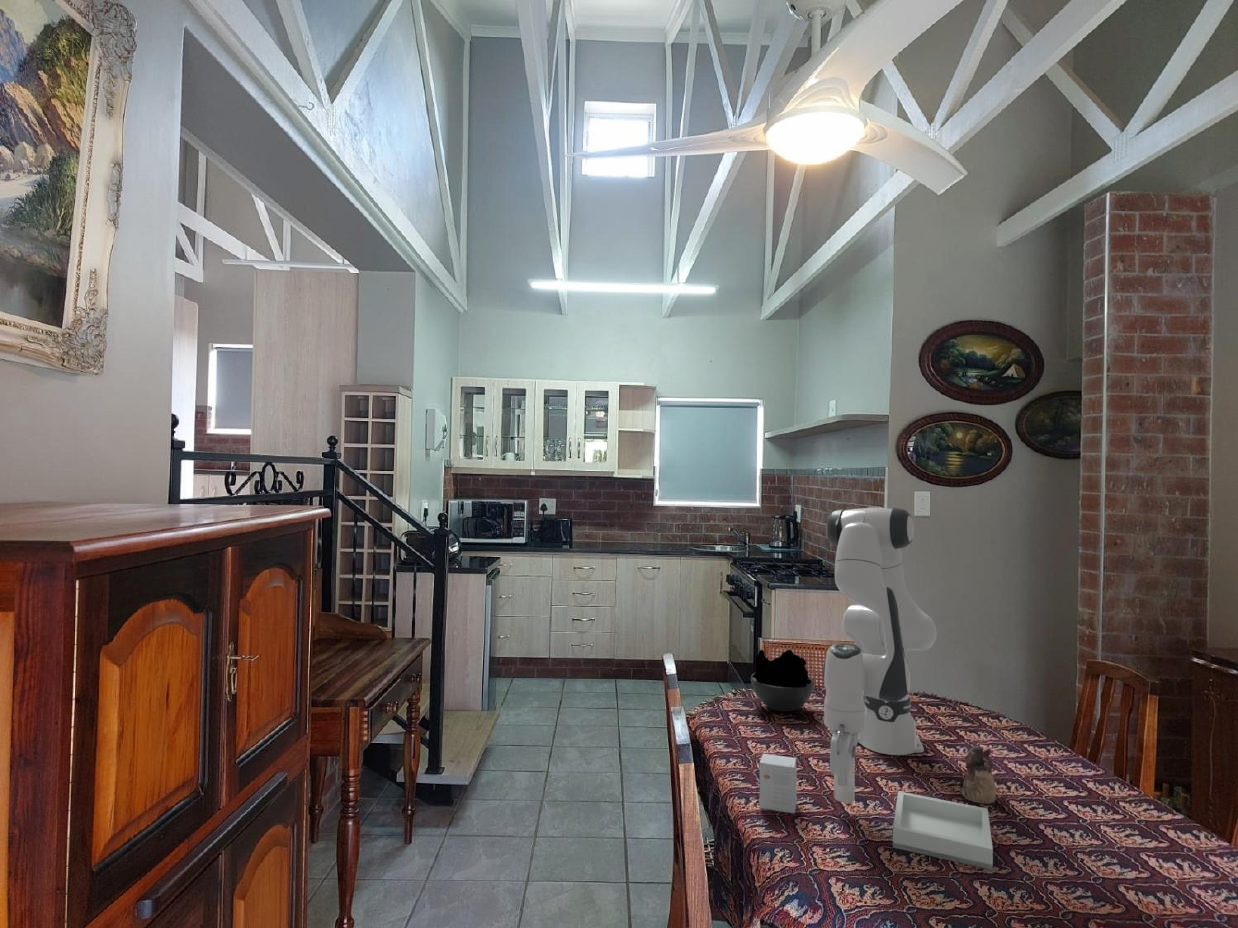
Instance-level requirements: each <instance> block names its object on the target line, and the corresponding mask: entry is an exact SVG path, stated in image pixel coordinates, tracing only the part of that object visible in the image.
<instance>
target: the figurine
mask: <svg viewBox="0 0 1238 928" xmlns="http://www.w3.org/2000/svg"><path fill="white" fill-rule="evenodd" d="M992 753H993V751H992V750H991V748H987V749H986V750H984V749H983V747H982V746H980V745H975V746H973V747H972V748H970V749H969V750H968V751H967V754H966V755H965V756H964V760H965V766H964V768H965V769H966V771H965V774H964V781H963V785H962V791H961V792H962V793H961V794H962V796H963V797H964V798H965V799H966V800H967V801H971V802H973V803H976V804H983V805H985V804H986V805H988V804H990V805H991V804H994V803H995V801H996V800H997V799H996V798H997V791H996V783H995V779H994V775H993V772H992V771H993V767H994V762H993V759H992V758H991V756H989V755H991V754H992ZM986 763H988V764H989V766H988V765H987V764H986Z"/></svg>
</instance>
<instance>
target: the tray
mask: <svg viewBox="0 0 1238 928" xmlns="http://www.w3.org/2000/svg"><path fill="white" fill-rule="evenodd" d="M894 810H895V812H894V818H893V823H892V824H893V825H892V848H895V849H899V850H903V851H907V852H910V853H911V852H912V853H916V854H921V855H924V856H929V857H934V858H938V859H942V860H947V861H951V862H954V863H955V862H956V863H960V864H962V865H963V864H964V865H969V866H973V867H977V868H980V869H981V868H982V869H986V870H991V871H994V870H993V867H994V865H993V864H994V861H993V860H994V855H993V854H994V848H993V842H992V841H993V840H992V834H991V826H990V825H991V824H990V819H989V817H990V816H989V811H988V810H989V809H988V808H986V807H981V806H976V805H971V804H966V803H960V802H956V801H955V802H954V801H951V800H944V799H940V798H935V797H930V796H924V795H919V794H915V793H910V792H904V791H899V790H898V792H897V797H896V805H895V809H894Z"/></svg>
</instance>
